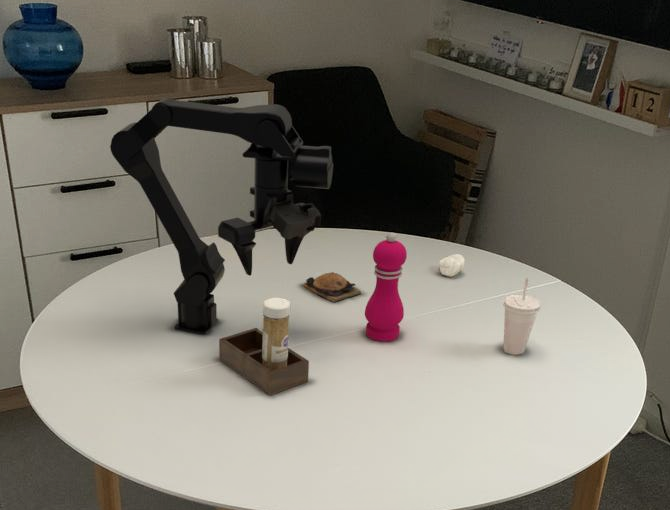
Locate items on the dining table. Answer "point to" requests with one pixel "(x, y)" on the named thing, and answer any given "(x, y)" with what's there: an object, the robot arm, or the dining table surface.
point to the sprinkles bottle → (275, 333)
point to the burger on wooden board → (331, 286)
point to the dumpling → (451, 265)
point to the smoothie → (519, 320)
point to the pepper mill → (386, 291)
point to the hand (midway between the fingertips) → (269, 269)
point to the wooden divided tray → (261, 362)
